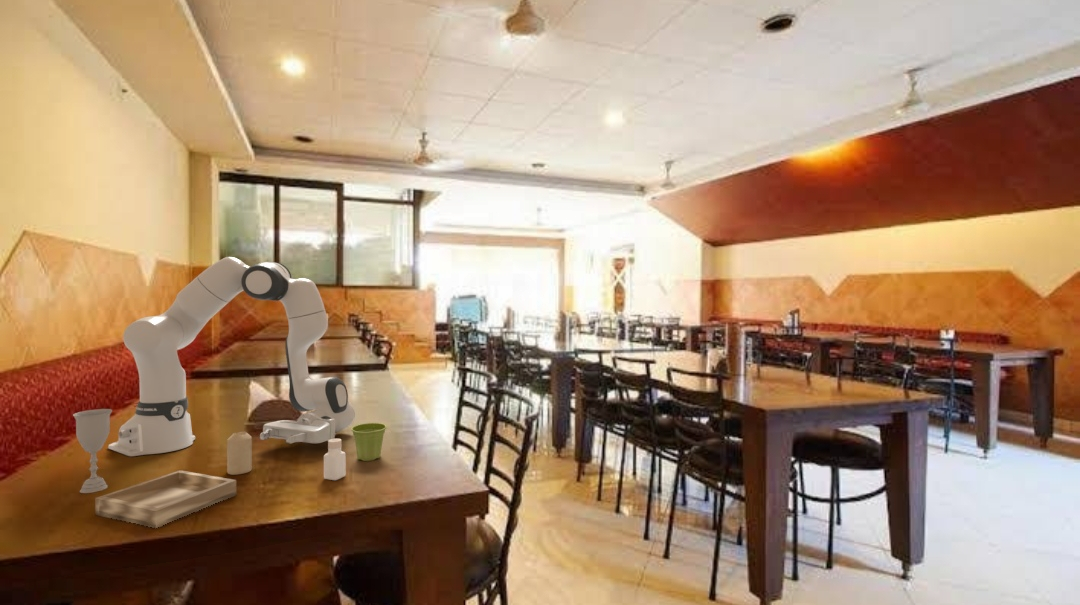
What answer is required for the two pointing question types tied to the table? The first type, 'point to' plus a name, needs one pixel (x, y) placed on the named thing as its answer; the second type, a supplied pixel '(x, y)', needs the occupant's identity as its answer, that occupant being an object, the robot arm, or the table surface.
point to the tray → (165, 498)
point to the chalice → (93, 442)
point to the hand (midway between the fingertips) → (274, 438)
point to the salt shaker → (334, 460)
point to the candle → (239, 453)
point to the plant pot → (369, 440)
